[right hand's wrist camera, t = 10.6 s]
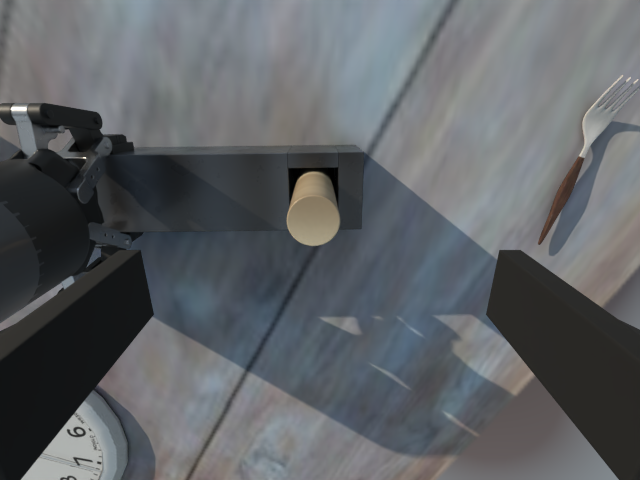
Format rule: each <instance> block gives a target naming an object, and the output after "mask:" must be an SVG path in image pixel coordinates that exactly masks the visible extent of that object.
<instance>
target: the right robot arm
mask: <svg viewBox="0 0 640 480" xmlns="http://www.w3.org/2000/svg"><path fill="white" fill-rule="evenodd" d="M153 315H154V313H153V308H152V303H151V299H150V294H149V289H148V284H147V279H146V274H145V269H144V265H143V260H142V255H141V250H119V251H118V252H116V253H115V254H113V255H112V256H111V257H109V258H108V259H106V260H105V261H104V262H102V263H101V264H99V265H98V266H96V267H95V268H94V269H92V270H91V271H89V272H88V273H87V274H85V275H84V276H82V277H81V278H80V279H78V280H77V281H75V282H74V283H73V284H71V285H70V286H68V287H67V288H65V289H64V290H63V291H61V292H60V293H58V294H57V295H56V296H54V297H53V298H51V299H50V300H49V301H47V302H46V303H44V304H43V305H42V306H40V307H39V308H37V309H36V310H34V311H33V312H32V313H30V314H29V315H27V316H26V317H25V318H23V319H22V320H20V321H19V322H18V323H16V324H14V325H12V326H10V327H8V328H6V329H4V330H2V331H0V480H21V479H22V478H23V476H24V475H25V474H26V473H27V471H28V470H29V469H30V468H31V467H32V465H33V464H34V463H35V462H36V460H37V459H38V458H39V457H40V455H41V454H42V453H43V452H44V450H45V449H46V448H47V447H48V445H49V444H50V443H51V442H52V440H53V439H54V438H55V437H56V435H57V434H58V433H59V432H60V430H61V429H62V428H63V427H64V425H65V424H66V423H67V422H68V421H69V419H70V418H71V417H72V416H73V414H74V413H75V412H76V411H77V409H78V408H79V407H80V406H81V404H82V403H83V402H84V401H85V399H86V398H87V397H88V396H89V394H90V393H91V392H92V391H93V389H94V388H95V387H96V386H97V384H98V383H99V382H100V381H101V379H102V378H103V377H104V376H105V375H106V373H107V372H108V371H109V370H110V368H111V367H112V366H113V365H114V363H115V362H116V361H117V360H118V358H119V357H120V356H121V355H122V353H123V352H124V351H125V350H126V348H127V347H128V346H129V345H130V343H131V342H132V341H133V340H134V338H135V337H136V336H137V335H138V333H139V332H140V331H141V330H142V329H143V327H144V326H145V325H146V324H147V322H148V321H149V320H150V319H151V317H152V316H153ZM486 315H487V316H488V317H489V319H490V320H491V321H492V322H493V324H494V325H495V326H496V327H497V329H498V330H499V331H500V332H501V333H502V335H503V336H504V337H505V338H506V340H507V341H508V342H509V343H510V345H511V346H512V347H513V348H514V350H515V351H516V352H517V353H518V355H519V356H520V357H521V358H522V360H523V361H524V362H525V363H526V365H527V366H528V367H529V368H530V370H531V371H532V372H533V373H534V375H535V376H536V377H537V378H538V379H539V381H540V382H541V383H542V384H543V386H544V387H545V388H546V389H547V391H548V392H549V393H550V394H551V396H552V397H553V398H554V399H555V401H556V402H557V403H558V404H559V406H560V407H561V408H562V409H563V410H564V412H565V413H566V414H567V416H568V417H569V418H570V419H571V420H572V422H573V423H574V424H575V425H576V427H577V428H578V429H579V430H580V432H581V433H582V434H583V435H584V437H585V438H586V439H587V440H588V442H589V443H590V444H591V445H592V447H593V448H594V449H595V450H596V452H597V453H598V454H599V455H600V457H601V458H602V459H603V460H604V461H605V463H606V464H607V465H608V466H609V468H610V469H611V470H612V471H613V473H614V474H615V475H616V476H617V478H618V479H619V480H640V330H639V329H637V328H635V327H633V326H631V325H629V324H627V323H625V322H622V321H620V320H618V319H617V318H615V317H614V316H612V315H611V314H610V313H608V312H607V311H605V310H604V309H603V308H601V307H600V306H598V305H597V304H596V303H594V302H593V301H591V300H590V299H589V298H587V297H586V296H584V295H583V294H582V293H580V292H579V291H577V290H576V289H575V288H573V287H572V286H570V285H569V284H567V283H566V282H565V281H563V280H562V279H560V278H559V277H558V276H556V275H555V274H553V273H552V272H551V271H549V270H548V269H546V268H545V267H544V266H542V265H541V264H539V263H538V262H536V261H535V260H534V259H532V258H531V257H529V256H528V255H527V254H525V253H524V252H522V251H521V250H499V255H498V260H497V265H496V269H495V274H494V279H493V284H492V289H491V294H490V299H489V303H488V308H487V313H486Z"/></svg>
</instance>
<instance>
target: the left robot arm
mask: <svg viewBox="0 0 640 480" xmlns="http://www.w3.org/2000/svg"><path fill="white" fill-rule="evenodd" d="M0 118H1V120H2V121H3V122H4V123H6V124H9V125H16V127H17V131H18V136H19V141H20V145H21V150H19V151H17V152H16V153H14V154H13V156H12V157H11V158H9V159H8V160H6V161H2V162H0V323H1V322H3V321H4V320H6V319H7V318H9V317H10V316H12V315H13V314H15V313H16V312H18V311H19V310H21V309H22V308H24V307H25V306H27V305H28V304H30V303H31V302H33V301H34V300H36V299H37V298H39V297H40V296H42V295H43V294H45V293H46V292H48V291H49V290H51V289H52V288H54V287H55V286H57V285H58V284H60V283H62V285H63V288H62V289H61V290H60V291H59V292H58V293H60V292H61V291H63V290H64V289H65V288H67V287H68V286H70V285H71V284H73V283H74V282H75V281H77V280H78V279H80V278H81V277H82V276H84V275H85V274H87V273H88V272H89V271H91V270H92V269H94V268H95V267H96V266H98V265H99V264H101V263H102V262H104V261H105V260H106V259H108V258H109V257H111V256H112V255H113V254H115V253H116V252H118V251H119V250H126V249H129V248H130V247H131V244H132V241H134V240H135V239H136V238H138V237H140V236H141V235H142V234H143V232H120V231H119V230H116V229H112V228H108V227H105V226H102V223H104V218H103V214H102V211H101V209H100V206H99V204H98V193H97V188H96V184H97V182H98V181H99V179H100V178H101V176H102V175H103V173H104V172H105V170H106V168H107V167H106V165H105V164H104V162H105V160H106V159H107V157H108V156H109V154H117V153H121V152H126V151H131V150H134V146H133V142H127V140H126V136H124V135H122V134H115V135H103V134H102V133H101V132H100V130H99V129H101V128H102V119H101V116H100V115H99V114H98V113H97V112H93V111H87V110H81V109H76V108H70V107H64V106H59V105H53V104H47V103H2V104H0ZM65 129H69V130H70V132H71V134H72V136H73V138H72V139H71V140H70V141H69V142H68V143H67V145H66V146H65V147H64V148H63V149H62V150H61V151H59V152H54V151H52V150H49V149H48V142H49V141H50V140H51V139H55V138H56V137H57V135H58V133H64V132H65ZM94 248H96V249H101V257H99V258H97V259H96V260H95V261H94V262H93V263H91V264H90V265H89V266H88V267H87V268H86V266H87V264H88V262H89V259H90V257H91V255H92V252H93V250H94ZM85 268H86V269H85Z"/></svg>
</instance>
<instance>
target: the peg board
mask: <svg viewBox="0 0 640 480" xmlns="http://www.w3.org/2000/svg"><path fill="white" fill-rule="evenodd" d="M104 164H105V165H106V167H107V168H106V170H105V172H104V173H103V175H102V176H101V178H100V179H99V181H98V182H97V184H96V188H97V193H98V204H99V206H100V209H101V211H102V214H103V218H104V223H102V226H105V227H108V228H112V229H116V230H119V231H120V232H184V231H254V230H289V229H288V226H287V214H288V211H289V207H290V203H291V200H292V196H293V192H294V178H293V168H334V192H335V197H336V201H337V205H338V210H339V214H340V227H339V229H361V225H362V196H363V167H364V152H363V151H362V150H361V149H360V148H358V147H357V146H356V145H335V146H334V145H309V146H229V147H147V148H134V150H131V151H126V152H121V153H117V154H109V156H108V157H107V159H106V160H105V162H104Z"/></svg>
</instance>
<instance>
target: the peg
mask: <svg viewBox="0 0 640 480" xmlns="http://www.w3.org/2000/svg"><path fill="white" fill-rule="evenodd" d="M287 226H288V229H289V232H290V233H291V235H292V236H293V237H294V238H295V239H296V240H297V241H298V242H300V243H302V244H305V245H308V246H319V245H323V244H325V243H327V242H329V241H330V240H331V239H333V237H334V236H335V235H336V234H337V232H338V230H339V227H340V214H339V210H338V205H337V201H336V197H335V192H334V188H333V184H332V179H331V175H330V172H329V170H328V168H301V169H300V171H299V174H298V178H297V181H296V185H295V189H294V192H293V196H292V200H291V203H290V207H289V211H288V214H287Z"/></svg>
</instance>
